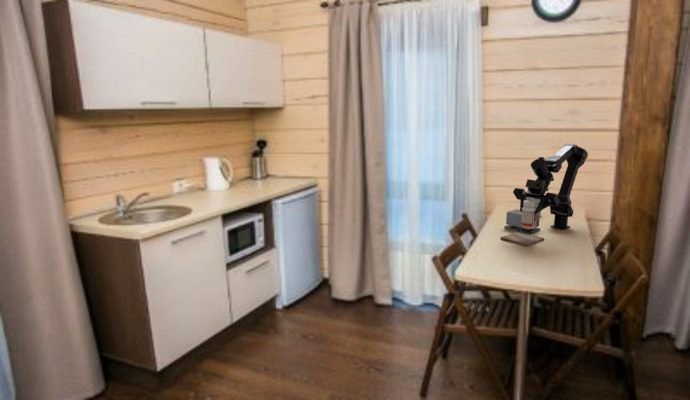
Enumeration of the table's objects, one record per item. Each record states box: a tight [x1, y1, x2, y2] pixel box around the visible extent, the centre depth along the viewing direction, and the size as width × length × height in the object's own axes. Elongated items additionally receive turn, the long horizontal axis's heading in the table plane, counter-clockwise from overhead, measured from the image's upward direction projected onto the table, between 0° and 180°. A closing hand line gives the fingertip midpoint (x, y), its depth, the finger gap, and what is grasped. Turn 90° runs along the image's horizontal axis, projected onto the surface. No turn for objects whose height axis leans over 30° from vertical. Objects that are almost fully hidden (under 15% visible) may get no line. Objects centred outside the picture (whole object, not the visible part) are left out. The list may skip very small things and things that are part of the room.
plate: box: [500, 231, 545, 247], centre depth 202 cm, size 13×13×1 cm
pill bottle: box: [521, 200, 537, 229], centre depth 197 cm, size 6×6×11 cm
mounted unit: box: [503, 209, 541, 235], centre depth 216 cm, size 9×13×8 cm
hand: (527, 212), depth 196 cm, fingers closed on pill bottle, 6 cm apart
